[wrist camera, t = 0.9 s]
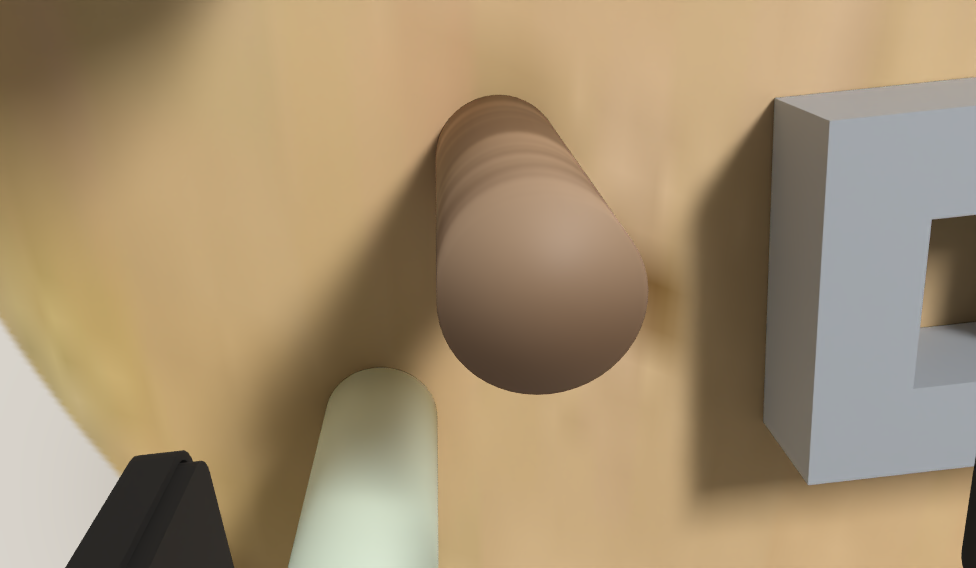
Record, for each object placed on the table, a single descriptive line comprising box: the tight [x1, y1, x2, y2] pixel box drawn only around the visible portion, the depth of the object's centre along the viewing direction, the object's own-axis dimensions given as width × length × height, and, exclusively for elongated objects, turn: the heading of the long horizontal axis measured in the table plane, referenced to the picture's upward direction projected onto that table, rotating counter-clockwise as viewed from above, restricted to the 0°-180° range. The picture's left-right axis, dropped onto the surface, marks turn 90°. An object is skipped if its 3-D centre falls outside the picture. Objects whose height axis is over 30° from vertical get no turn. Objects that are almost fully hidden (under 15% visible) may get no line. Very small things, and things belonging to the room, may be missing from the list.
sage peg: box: [288, 367, 438, 568], centre depth 24 cm, size 4×4×12 cm
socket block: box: [763, 77, 976, 485], centre depth 27 cm, size 12×12×4 cm
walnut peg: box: [436, 95, 648, 395], centre depth 21 cm, size 4×4×12 cm
